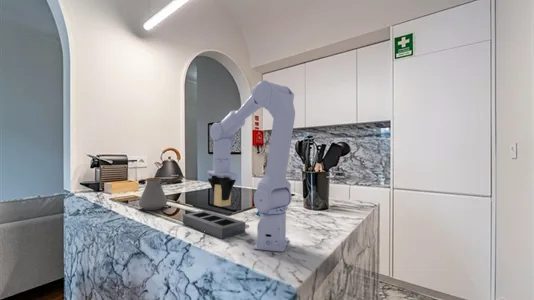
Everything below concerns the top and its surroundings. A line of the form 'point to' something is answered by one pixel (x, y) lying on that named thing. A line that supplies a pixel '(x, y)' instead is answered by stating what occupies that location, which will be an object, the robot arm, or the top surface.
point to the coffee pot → (154, 194)
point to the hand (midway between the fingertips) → (221, 199)
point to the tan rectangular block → (220, 197)
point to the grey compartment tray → (214, 224)
